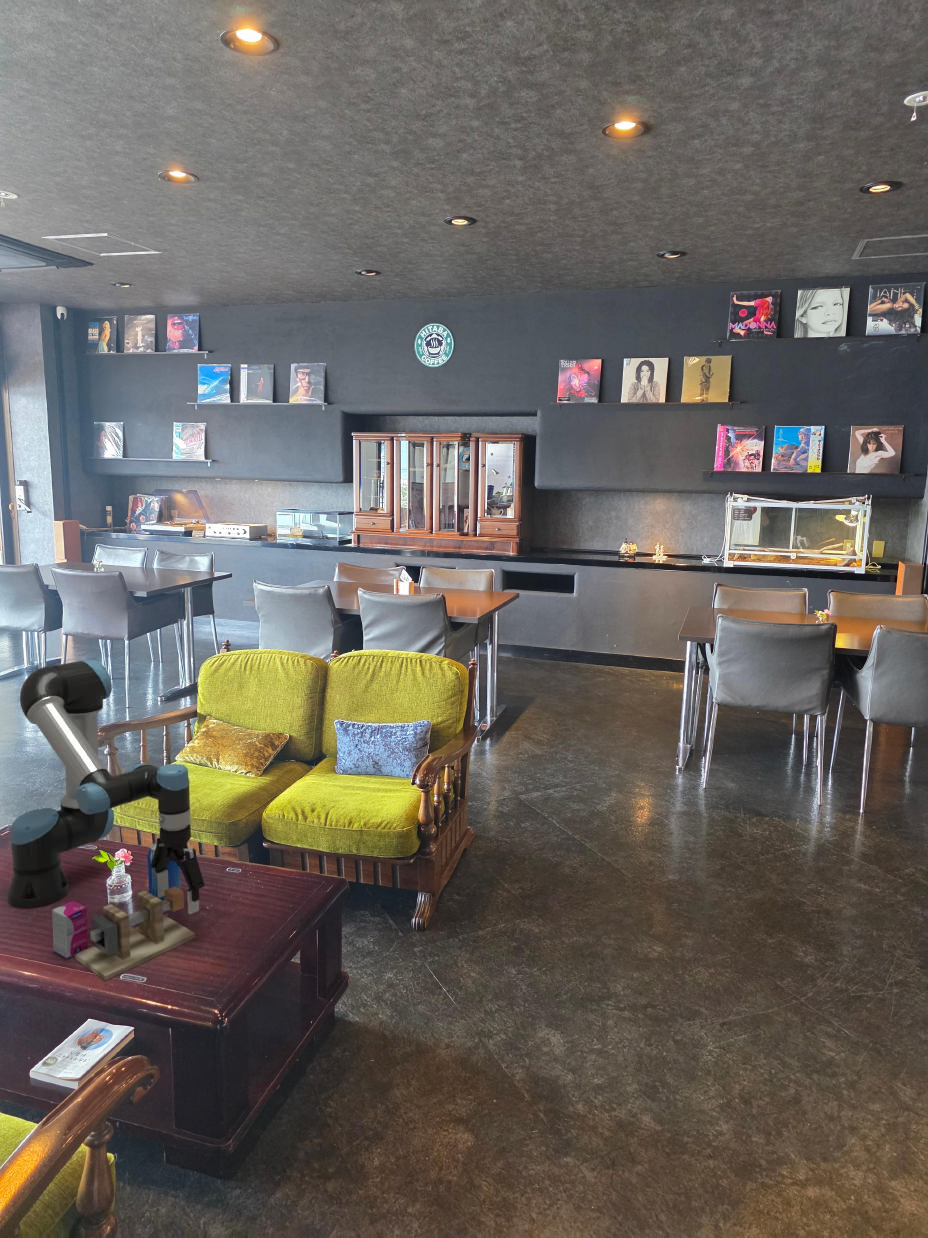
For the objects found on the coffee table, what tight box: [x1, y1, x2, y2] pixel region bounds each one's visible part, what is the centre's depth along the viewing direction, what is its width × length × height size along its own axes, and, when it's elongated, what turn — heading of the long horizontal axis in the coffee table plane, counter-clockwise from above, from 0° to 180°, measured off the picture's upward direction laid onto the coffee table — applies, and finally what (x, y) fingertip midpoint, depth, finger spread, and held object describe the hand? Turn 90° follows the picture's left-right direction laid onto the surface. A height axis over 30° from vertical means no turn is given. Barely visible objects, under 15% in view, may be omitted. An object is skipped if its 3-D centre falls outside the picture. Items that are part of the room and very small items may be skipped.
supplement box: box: [51, 900, 89, 960], centre depth 200 cm, size 6×6×12 cm
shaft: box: [89, 886, 185, 942], centre depth 202 cm, size 4×23×4 cm, turn 142°
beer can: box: [147, 842, 182, 901], centre depth 226 cm, size 8×8×16 cm
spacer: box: [91, 914, 118, 956], centre depth 196 cm, size 7×2×7 cm, turn 52°
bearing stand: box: [74, 890, 196, 982], centre depth 202 cm, size 14×24×12 cm, turn 142°
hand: (178, 903), depth 211 cm, fingers open, 13 cm apart
